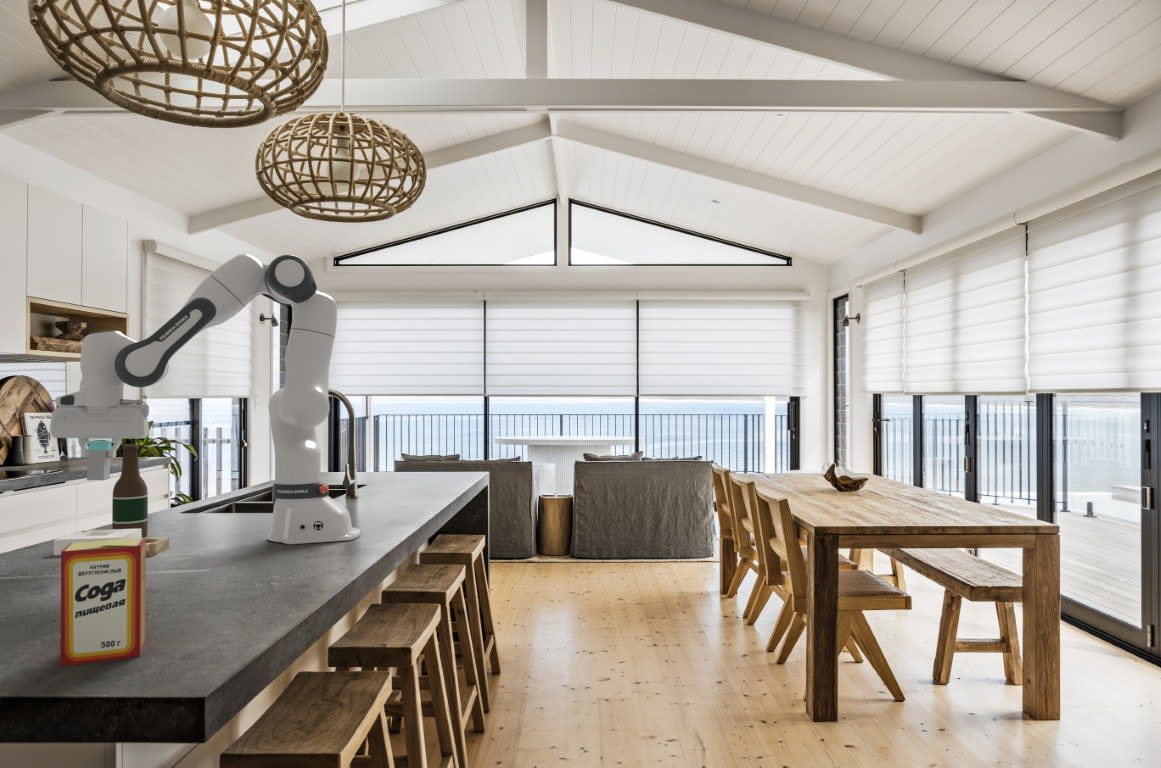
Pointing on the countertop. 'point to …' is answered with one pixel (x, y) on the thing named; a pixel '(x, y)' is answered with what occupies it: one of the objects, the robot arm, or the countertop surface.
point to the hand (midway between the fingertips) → (99, 457)
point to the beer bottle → (130, 495)
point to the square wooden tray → (156, 546)
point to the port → (94, 537)
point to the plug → (98, 460)
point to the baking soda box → (102, 600)
